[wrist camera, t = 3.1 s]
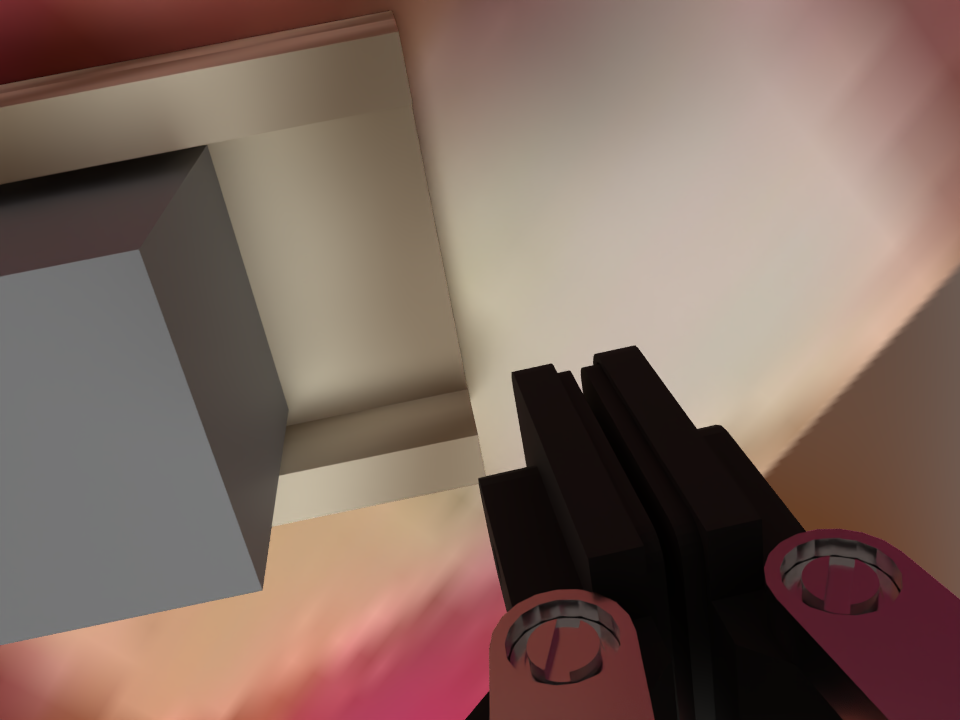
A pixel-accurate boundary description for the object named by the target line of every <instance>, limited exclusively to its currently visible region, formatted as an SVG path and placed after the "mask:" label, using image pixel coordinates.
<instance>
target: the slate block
mask: <svg viewBox="0 0 960 720" xmlns="http://www.w3.org/2000/svg"><path fill="white" fill-rule="evenodd" d="M288 411H289V409H288V406H287V403H286V399H285V396H284V393H283V389H282V386H281V383H280V380H279V376H278V373H277V370H276V367H275V363H274V360H273V357H272V354H271V350H270V347H269V344H268V341H267V337H266V334H265V331H264V328H263V324H262V321H261V318H260V315H259V311H258V308H257V305H256V302H255V298H254V295H253V292H252V289H251V285H250V282H249V279H248V276H247V272H246V269H245V266H244V263H243V259H242V256H241V253H240V250H239V246H238V243H237V240H236V236H235V233H234V230H233V227H232V223H231V220H230V217H229V214H228V210H227V207H226V204H225V201H224V197H223V194H222V191H221V188H220V184H219V181H218V178H217V175H216V171H215V168H214V165H213V162H212V158H211V155H210V152H209V149H208V145H203V146H198V147H193V148H188V149H182V150H177V151H172V152H167V153H162V154H157V155H151V156H146V157H141V158H136V159H131V160H126V161H120V162H115V163H110V164H105V165H100V166H95V167H90V168H84V169H79V170H74V171H69V172H64V173H59V174H53V175H48V176H43V177H38V178H33V179H28V180H22V181H17V182H12V183H7V184H2V185H0V645H4V644H8V643H13V642H18V641H23V640H28V639H32V638H37V637H42V636H47V635H52V634H56V633H61V632H66V631H71V630H75V629H80V628H85V627H90V626H95V625H99V624H104V623H109V622H114V621H119V620H123V619H128V618H133V617H138V616H142V615H147V614H152V613H157V612H162V611H166V610H171V609H176V608H181V607H186V606H190V605H195V604H200V603H205V602H209V601H214V600H219V599H224V598H229V597H233V596H238V595H243V594H248V593H253V592H257V591H262V590H263V583H264V576H265V569H266V562H267V555H268V548H269V542H270V535H271V528H272V521H273V514H274V507H275V500H276V493H277V486H278V480H279V473H280V466H281V459H282V452H283V445H284V438H285V431H286V424H287V417H288Z"/></svg>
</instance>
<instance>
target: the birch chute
mask: <svg viewBox="0 0 960 720" xmlns="http://www.w3.org/2000/svg"><path fill="white" fill-rule="evenodd" d="M412 104H413V102H412V97H411V92H410V87H409V82H408V77H407V72H406V67H405V62H404V57H403V52H402V47H401V41H400V36H399V31H398V28H397V25H396V22H395V18H394V15H393V12H392V11H387V12H381V13H376V14H371V15H365V16H360V17H355V18H350V19H344V20H339V21H334V22H329V23H323V24H318V25H313V26H308V27H302V28H297V29H292V30H287V31H281V32H276V33H271V34H266V35H260V36H255V37H250V38H245V39H239V40H234V41H229V42H224V43H218V44H213V45H208V46H203V47H197V48H192V49H187V50H182V51H176V52H171V53H166V54H161V55H155V56H150V57H145V58H140V59H134V60H129V61H124V62H119V63H113V64H108V65H103V66H98V67H92V68H87V69H82V70H77V71H71V72H66V73H61V74H56V75H50V76H45V77H40V78H35V79H29V80H24V81H19V82H14V83H8V84H3V85H0V185H2V184H7V183H12V182H17V181H22V180H28V179H33V178H38V177H43V176H48V175H53V174H59V173H64V172H69V171H74V170H79V169H84V168H90V167H95V166H100V165H105V164H110V163H115V162H120V161H126V160H131V159H136V158H141V157H146V156H151V155H157V154H162V153H167V152H172V151H177V150H182V149H188V148H193V147H198V146H203V145H208V149H209V152H210V155H211V158H212V162H213V165H214V168H215V171H216V175H217V178H218V181H219V184H220V188H221V191H222V194H223V197H224V201H225V204H226V207H227V210H228V214H229V217H230V220H231V223H232V227H233V230H234V233H235V236H236V240H237V243H238V246H239V250H240V253H241V256H242V259H243V263H244V266H245V269H246V272H247V276H248V279H249V282H250V285H251V289H252V292H253V295H254V298H255V302H256V305H257V308H258V311H259V315H260V318H261V321H262V324H263V328H264V331H265V334H266V337H267V341H268V344H269V347H270V350H271V354H272V357H273V360H274V363H275V367H276V370H277V373H278V376H279V380H280V383H281V386H282V389H283V393H284V396H285V399H286V403H287V406H288V409H289V411H288V417H287V424H286V431H285V438H284V445H283V452H282V459H281V466H280V473H279V480H278V486H277V493H276V500H275V507H274V514H273V521H272V527H273V526H278V525H282V524H287V523H292V522H297V521H302V520H307V519H311V518H316V517H321V516H326V515H331V514H336V513H340V512H345V511H350V510H355V509H360V508H365V507H369V506H374V505H379V504H384V503H389V502H394V501H398V500H403V499H408V498H413V497H418V496H423V495H427V494H432V493H437V492H442V491H447V490H452V489H456V488H461V487H466V486H471V485H476V484H479V482H478V478H481V477H485V476H486V474H485V469H484V464H483V458H482V453H481V448H480V443H479V438H478V433H477V429H476V424H475V420H474V415H473V411H472V406H471V402H470V397H469V393H468V388H467V383H466V378H465V373H464V368H463V363H462V358H461V353H460V348H459V342H458V337H457V332H456V327H455V322H454V317H453V312H452V307H451V302H450V297H449V292H448V287H447V282H446V277H445V272H444V266H443V261H442V256H441V251H440V246H439V241H438V236H437V231H436V226H435V221H434V216H433V211H432V206H431V201H430V195H429V190H428V185H427V180H426V175H425V170H424V165H423V160H422V155H421V150H420V145H419V140H418V135H417V130H416V125H415V119H414V114H413V109H412Z"/></svg>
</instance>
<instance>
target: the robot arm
mask: <svg viewBox="0 0 960 720" xmlns="http://www.w3.org/2000/svg"><path fill="white" fill-rule="evenodd" d="M581 381H582V389H583V393H582V391H581V389H580V388H579V386H578V384H577V382H576V380H575V378H574V376H573V375H572V373H571V371H565V372H560V373H557V371H556V369H555V367H554V366H553V364H547V365H542V366H538V367H533V368H529V369H524V370H519V371H515V372H512V384H513V390H514V396H515V402H516V408H517V413H518V419H519V425H520V431H521V437H522V442H523V448H524V454H525V460H526V466H527V467H525V468H521V469H517V470H512V471H508V472H503V473H499V474H494V475H490V476H485V477H481V478H478V482H479V488H480V493H481V498H482V503H483V508H484V513H485V518H486V523H487V528H488V533H489V537H490V542H491V547H492V551H493V556H494V560H495V565H496V569H497V573H498V578H499V582H500V586H501V590H502V594H503V598H504V602H505V606H506V610H507V613H506V614H505V615H504V616H502V618H501V619H500V621H499V623H498V624H497V626H496V627H495V629H494V630H493V632H492V637H491V642H490V647H489V692H488V693H487V694H486V695H485V697H484V698H483V699H482V700H481V701H480V703H479V704H478V705H477V706H476V707H475V709H474V710H473V711H472V712H471V713H470V715H469V716H468V717H467V718H466V719H465V720H960V599H959V598H957V597H956V596H955V595H954V594H952V593H951V592H950V591H949V590H948V589H947V588H945V587H944V586H943V585H941V584H940V583H939V582H938V581H937V580H936V579H934V578H933V577H932V576H931V575H930V574H928V573H927V572H926V571H925V570H923V569H922V568H921V567H920V566H919V565H917V564H916V563H915V562H914V561H913V560H911V559H910V558H909V557H908V556H906V555H905V554H904V553H903V552H902V551H900V550H898V549H897V548H895V547H894V546H892V545H890V544H889V543H887V542H886V541H884V540H882V539H879V538H876V537H873V536H870V535H868V534H865V533H862V532H855V531H850V530H843V529H817V530H813V531H808V532H806V531H805V530H804V528H803V527H802V526H801V525H800V523H799V522H798V521H797V519H796V518H795V517H794V516H793V515H792V513H791V512H790V511H789V509H788V508H787V507H786V505H785V504H784V503H783V502H782V500H781V499H780V498H779V496H778V495H777V494H776V493H775V491H774V490H773V489H772V488H771V486H770V485H769V484H768V482H767V481H766V480H765V479H764V477H763V476H762V475H761V474H760V472H759V471H758V470H757V468H756V467H755V466H754V465H753V463H752V462H751V461H750V459H749V458H748V457H747V456H746V454H745V453H744V452H743V451H742V449H741V448H740V447H739V445H738V444H737V443H736V442H735V440H734V439H733V438H732V437H731V435H730V434H729V433H728V431H727V430H726V429H724V428H723V427H722V426H721V425H713V426H709V427H704V428H700V429H697V428H696V427H695V426H694V424H693V423H692V422H691V420H690V419H689V417H688V416H687V415H686V413H685V412H684V411H683V409H682V408H681V406H680V405H679V404H678V402H677V401H676V400H675V398H674V397H673V395H672V394H671V393H670V391H669V390H668V389H667V387H666V386H665V384H664V383H663V382H662V380H661V379H660V378H659V376H658V375H657V373H656V372H655V371H654V369H653V368H652V367H651V365H650V364H649V362H648V361H647V360H646V358H645V357H644V356H643V354H642V353H641V351H640V350H639V349H638V348H637V347H636V346H630V347H625V348H620V349H616V350H611V351H607V352H602V353H597V354H594V357H593V365H592V366H588V367H583V368H581Z"/></svg>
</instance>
